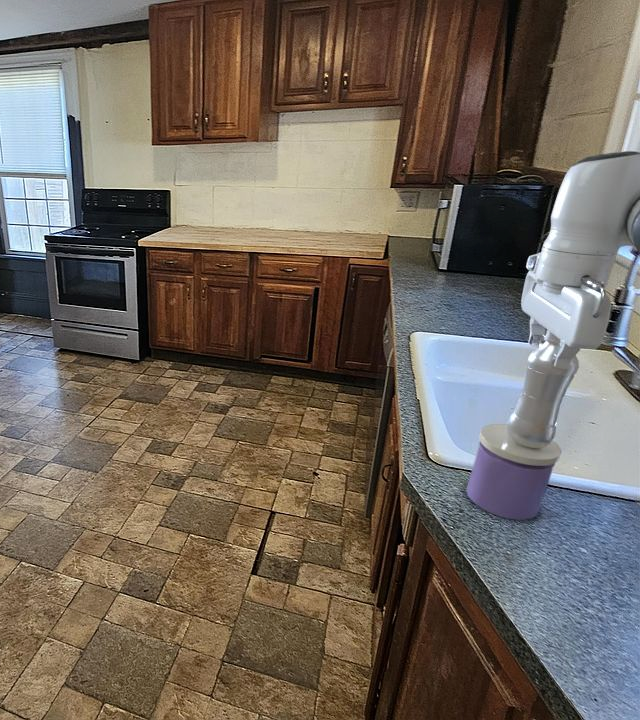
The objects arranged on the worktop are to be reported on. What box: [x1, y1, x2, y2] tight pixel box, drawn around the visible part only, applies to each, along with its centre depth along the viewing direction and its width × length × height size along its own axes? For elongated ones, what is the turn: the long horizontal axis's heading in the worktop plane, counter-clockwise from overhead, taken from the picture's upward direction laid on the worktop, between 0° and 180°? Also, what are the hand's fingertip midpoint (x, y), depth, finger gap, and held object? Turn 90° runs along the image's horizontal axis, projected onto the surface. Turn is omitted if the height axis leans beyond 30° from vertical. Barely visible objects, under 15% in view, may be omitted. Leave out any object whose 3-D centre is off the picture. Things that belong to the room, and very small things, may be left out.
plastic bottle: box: [506, 329, 580, 448], centre depth 85 cm, size 6×7×20 cm
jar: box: [465, 423, 562, 521], centre depth 92 cm, size 12×12×12 cm
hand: (546, 355), depth 83 cm, fingers open, 8 cm apart
